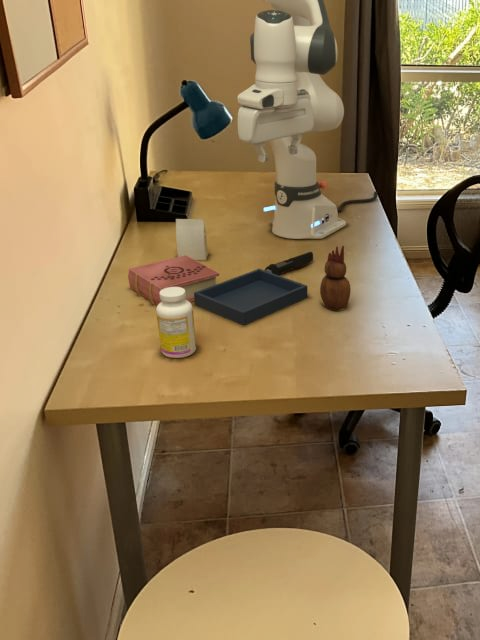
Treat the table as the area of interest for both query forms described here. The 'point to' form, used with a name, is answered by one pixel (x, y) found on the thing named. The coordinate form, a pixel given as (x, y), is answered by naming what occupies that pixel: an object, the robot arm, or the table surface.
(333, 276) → the wooden figurine
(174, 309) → the supplement bottle
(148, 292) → the book
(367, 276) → the table surface
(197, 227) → the white folded card
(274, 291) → the tray
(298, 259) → the electric trimmer
